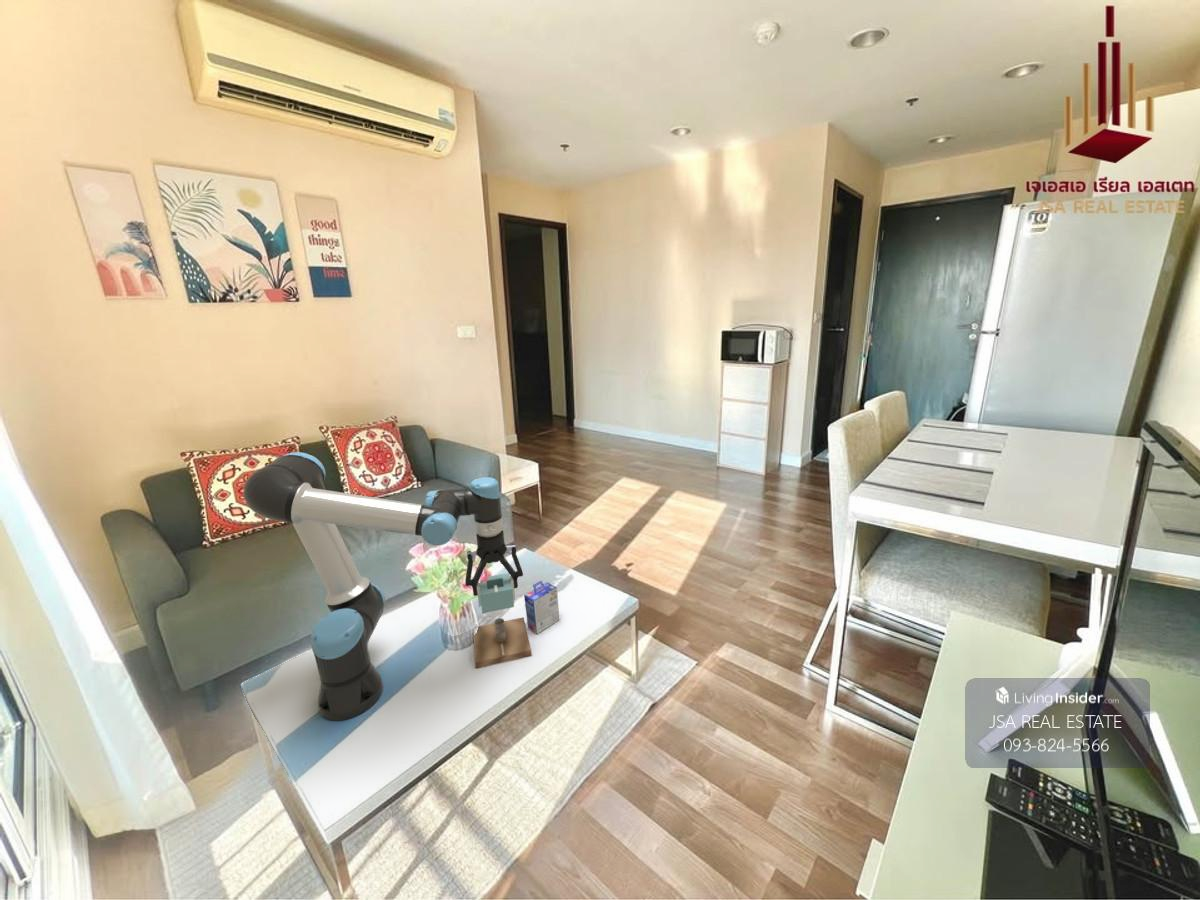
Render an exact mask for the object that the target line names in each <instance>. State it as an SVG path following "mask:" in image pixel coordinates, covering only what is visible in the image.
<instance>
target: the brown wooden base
mask: <svg viewBox="0 0 1200 900" xmlns="http://www.w3.org/2000/svg"><path fill="white" fill-rule="evenodd" d="M477 627H478V630H477V633H476V634H475V635H474V636H473V651H474V663H475V669H480V668H483V667H488V666H493V665H496V664H501V663H506V662H509V661H514V660H519V659H522V658H523V659H524V658H527V657H531V656H532V655H533V654H532V648H531V644H530V640H529V635H528V634H529V633H528V631H527V626H526V622H525V618H524V617H523V616H522V617H518V618H513V619H509V620H504V618H497V619H494V623H490V624H484V625H480V626H477Z"/></svg>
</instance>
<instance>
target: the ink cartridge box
mask: <svg viewBox="0 0 1200 900" xmlns="http://www.w3.org/2000/svg"><path fill="white" fill-rule="evenodd" d="M532 586H533V589H532V590H531V591H529V592H528V593H526V594H524V596H523V598H524V604H525V605H524V606H525V614H526V622H527V623H526V624H527V629H529V630H530V631H532V632H533V633H535V634H536V635H537V634H539V633H541V632H543V631H544V630H545V629H548V628H549V627H550V626H552V625H554V624H555V623H556V622H559V621H560V611H559V609H560V608H559V607H560V606H559V598H558V597H559V596H558V587H557V586H555V585H553V584H551V583H550V582H547V581H546V582H545V583H544V582H543V581H542V580H540V581H538V582H536V583H534V584H532Z"/></svg>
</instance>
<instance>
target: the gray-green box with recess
mask: <svg viewBox="0 0 1200 900" xmlns="http://www.w3.org/2000/svg"><path fill="white" fill-rule="evenodd" d="M489 576H490V575H489ZM510 576H511V575H510V574H509V573H508V572H507V573H502V574H495V575H491V576H490V578H489V579H488V578H487V581H486V583H483V582H480V583H479V587H480V597H481V606H480V607H481V612H482V613H481V614H486V613H490V612H496V611H500V610H501V611H502V610H506V609H511V608H512V609H513V608H514V607H515V605H514V604H515V600H513V589H512V584H511V580H510Z"/></svg>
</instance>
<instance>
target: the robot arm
mask: <svg viewBox="0 0 1200 900" xmlns="http://www.w3.org/2000/svg"><path fill="white" fill-rule="evenodd" d="M325 479H326V469H325V467H324V465H323V463H322V462H321V461H320V460H319V459H318V458H317V457H316V456H314V455H310V454H309V453H306V452H301V451H300V452H299V451H298V452H297V451H295V452H289V453H287V454H284V455H282V456H279V457H276V458H275V459H274V460H273V461H270V462H269V463H268V464H266V465H265V466H263V467H261V468H260V469H257V470H256V471H253V472H252V474H251V475H249V477H248V478H247V480H246V482H245V484H244V487H243V490H242V491H243V498H244V502H245V503H246V505H247V506H248V507H249V509H250V510H251V511H252V512H254V513H255V514H257V515H258V516H261V517H263V518H265V519H269V520H273V521H275V522H276V521H277V522H282V523H290V524H292V526H293V527H294V529H295V532H296V534H297V535H298V537H299V539H300V541H301V544H302V545H303V547H304V548H305V551H306V552H307V554H308V557H309V558H310V561H311V562H312V565H313V566H314V568H315V570H316V572H317V574H318V576H319V578H320V579H321V581H322V583H323V586H324V587H325V590H326V591H327V596H326V598H325V604H326V605H327V607H328V608H327V609H329V611H330V612H329V613H326V616H323V617H321V618H320V619H319V620H318V621H317V622H316V623H315V624H314V626H313V627H312V630H311V633H310V640H311V641H310V642H311V643H310V645H311V650H312V652H313V655H314V658H315V663H316V666H317V670H318V674H319V678H320V689H319V693H318V694H319V695H318V701H317V705H318V710H319V714H320V715H321V716H322V717H323V718H325V719H327V720H330V721H343V720H344V721H345V720H348V719H351V718H354V717H356V716H358V715H360V714H361V715H362V713H365V712H366V711H367V710H369V709H370V708H371V707H372V706H374V705H375V704H376V703H377V701H379V698H380V697H381V696H382V693H383V690H384V683H383V679H382V676H381V674H380V673H379V671H378V670H377V669H376V667H375V666H374V665H373V664H372V662H371V656H370V651H369V642H370V639H371V637H372V635H373V634H374V631H375V629H376V627H377V625H378V623H379V621H380V619H381V617H382V616H383V613H384V609H385V605H386V597H385V594H384V592H383V590H382V589H381V587H379V586H378V585H377V584H374V583H373V582H371V581H370V579H369V578H368V577H365V576H364V577H363V576H361V575H360V572H359V570H358V568H357V567H356V566H357V565H356V564H355V562H354V560H353V557H352V556H351V554H350V552H349V549H348V547H347V546H346V543H345V542H344V539H343V537H342V536H341V533H340V531H339V529H338V527H337V526H344V527H345V526H346V527H353V528H358V529H359V528H361V529H369V530H377V531H382V532H388V533H389V532H391V533H396V534H397V533H398V534H405V535H412V536H413V535H414V536H418V537H419V536H420V537H422V539H423V540H424V541H425V542H426V543H428V544H430V545H431V546H443V545H445V544H447V543H448V542H450V541H451V540H452V538H453V536H454V534H455V532H456V531H457V529H458V522H459V519H460V518H461V517H463V516H473V517H474V527H475V533H476V535H475V536H476V544H477V545H476V546H477V548H476V550H473V551H471V550H468V551H467V553H466V557H467V558H466V559H467V565H466V566H467V567H466V572H465V582H464V583H465V586H466V587H472V594H473V596H474V597H476V596H477V599H478V600H477V601H478V607H479V608H480V607H482V606H481V597H480V587H479V579H480V578H481V576H482V574H483V572H484V569H485V567H486V565H488V564H491V563H498V562H499V563H500V564H501V565H502V566H503V567H504V569H505V570H506V571H507V573H509V575H510V580H511V584H512V589H513V600H514V601H515V600H516V595H515V589H518V587H519V583H518V578H519V577H523V576H524V572H523V569H522V566H521V563H520V561H519V558H518V556H517V547H516V544H515V543H511V545H507V544H506V543H505V536H504V530H503V529H504V525H503V524H504V522H503V514H502V503H501V500H502V499H501V493H500V488H499V482H498V480H497V479H495V478H493V477H489V476H487V477H486V476H484V477H479V478H476V479H474V480H472V481H471V482H470V486H469V487H465V488H448V489H447V488H446V489H437V490H431V491H430V490H429V491H428V492H427V493H426V494H425V499H424V504H418V503H412V502H406V501H401V500H400V501H399V500H394V499H386V498H382V497H381V498H379V497H373V496H365V495H360V494H354V493H347V492H340V491H336V490H335V491H334V490H328V489H326V487H325V485H324V482H325ZM506 552H508V553H509V554H511V557H512V560H513V563H514V565H515V568H516V571H515V569H514V568H513V567H512V565H511V564H510V562H509V561H508V560H507V558H506V557H505V554H506ZM476 556H477V557H478V558H480V559H479V560H480V561H479V564H478V566H477V568H476V571H475V573H474V575H473V578H472V573H473V566H474V560H475V559H476Z"/></svg>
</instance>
